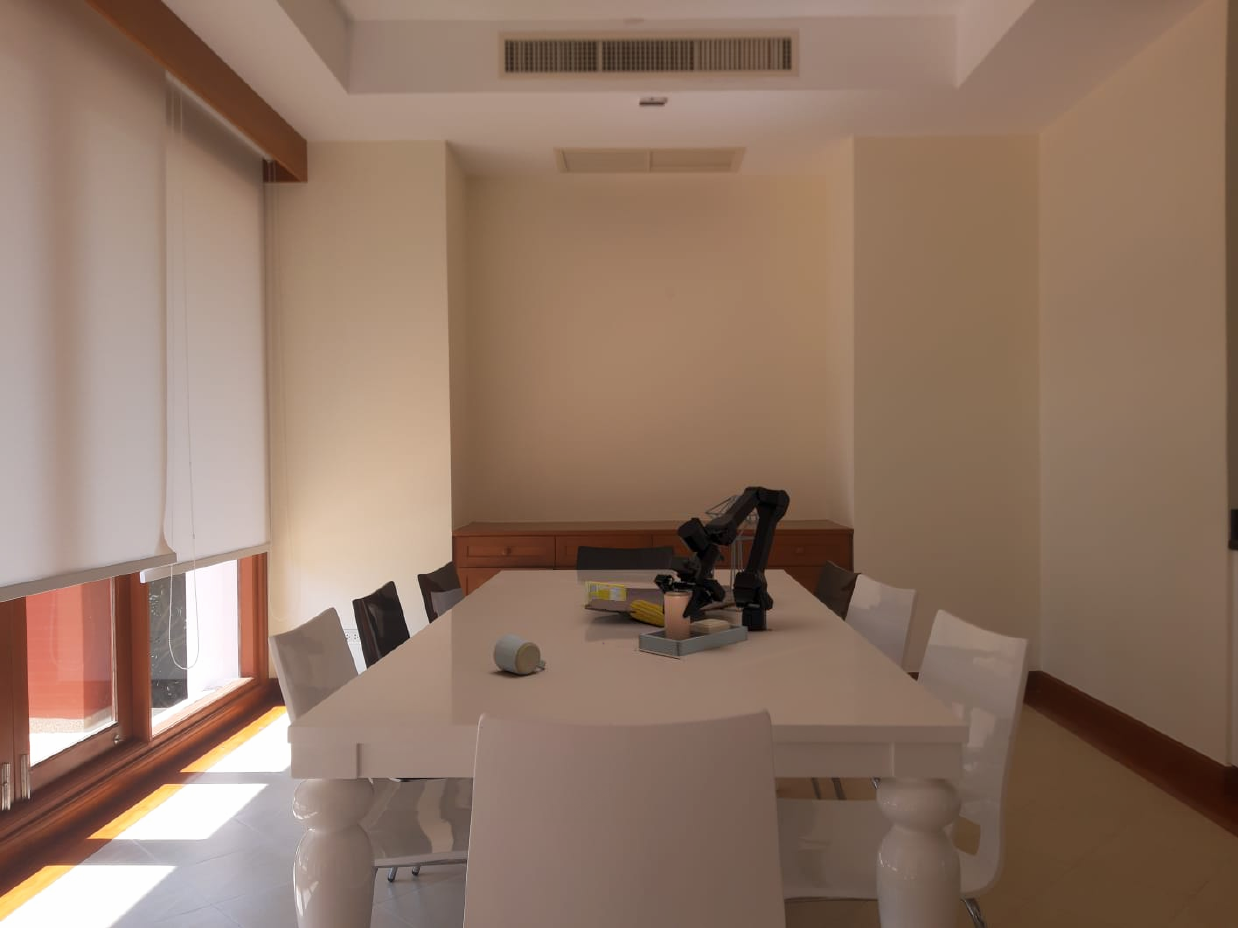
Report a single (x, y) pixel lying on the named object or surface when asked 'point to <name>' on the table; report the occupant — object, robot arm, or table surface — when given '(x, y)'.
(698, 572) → the robot arm
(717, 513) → the geometric lantern
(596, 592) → the candy box
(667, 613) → the pink beverage can
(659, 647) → the tray
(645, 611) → the food
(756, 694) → the table surface
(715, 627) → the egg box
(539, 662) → the ceramic mug
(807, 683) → the table surface
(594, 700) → the table surface
